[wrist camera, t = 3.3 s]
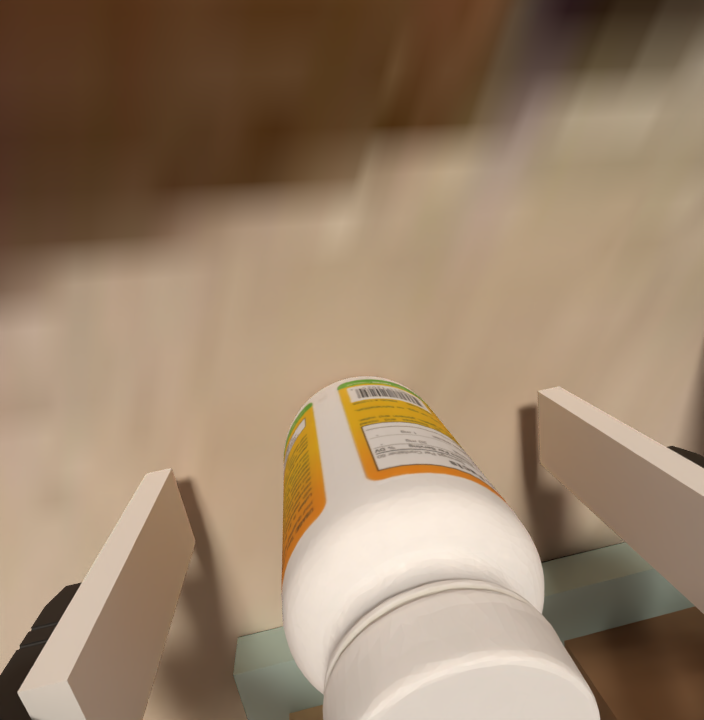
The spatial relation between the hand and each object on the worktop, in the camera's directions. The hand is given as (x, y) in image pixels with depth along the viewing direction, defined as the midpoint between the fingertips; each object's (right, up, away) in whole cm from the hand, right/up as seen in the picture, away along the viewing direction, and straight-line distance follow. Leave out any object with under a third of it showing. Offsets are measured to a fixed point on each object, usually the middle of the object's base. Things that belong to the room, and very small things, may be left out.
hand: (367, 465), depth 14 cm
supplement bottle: (0, 0, +2) cm, 2 cm away
